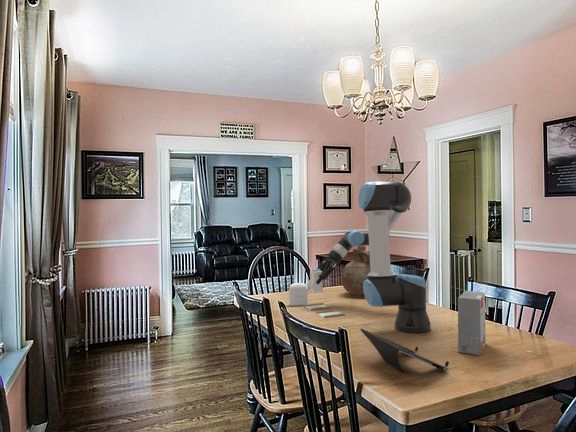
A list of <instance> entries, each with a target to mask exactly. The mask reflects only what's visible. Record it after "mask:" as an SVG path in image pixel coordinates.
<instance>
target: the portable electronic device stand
mask: <svg viewBox="0 0 576 432" xmlns="http://www.w3.org/2000/svg"><path fill="white" fill-rule="evenodd" d="M360 331H361V333H363V334H364V336H365V337H366V338H367V339H368V340H369V342H370V343H371V344H372V345H373V347H374V348H375V349H376V351H377V352H378V354H379V355H380V357H381V359H382V360H383V361H384V363H386V364H388V366H391V367H393V368H394V369H395V370H396V371H398V372H400V373H404V370H403V369H402V366H401V363H400V360H399V355H398V354H399V353H401V354H405V355H406V356H409V357H411V358H414V359H415V360H418V361H422V362H424V363H425V364H427V365H431V366H432V367H434V368H436V369H437V370H438V371H441V372H444V371H445V370H448V367H449V364H450V362H449V361H448V360H446V361H445V364H444V366H443V365H441V364H439V363H437V362H435V361H433V360H430V359H428V358H426V357H423V356H421V355H419V354H417V353H418V350H419V346H415V349H414V350H412V349H410V348H408V347H405V346H403V345H401V344H398V343H396V342H394V341H392V340H389V339H387V338H384V337H382V336H380V335H377V334H375V333H373V332H370V331H368V330H366V329H363V328H360Z"/></svg>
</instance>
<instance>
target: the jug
mask: <svg viewBox="0 0 576 432" xmlns="http://www.w3.org/2000/svg"><path fill="white" fill-rule="evenodd" d="M352 253H353V259H352V260H351V261H350V262H348V263H346V265H344V268H343V270H342V272H341V275H340V276H341V277H340V282H341V284H342V286H343V289H344V290H345V291H346V292H347V293H349V294H350V295H351V296H352V297H358V298H360V297H365V295H364V291H363V282H364V280H366V279H367V275H368V274H369V272H370V271H371V270H370V252H369V250H366V245H364V246H357V248H354V249H353V248H352ZM363 255H366V260H365V259H364V258H363Z"/></svg>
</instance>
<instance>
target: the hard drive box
mask: <svg viewBox="0 0 576 432" xmlns="http://www.w3.org/2000/svg"><path fill="white" fill-rule="evenodd" d="M485 346H486V292H482V291H473V290H472V291H470V290H469V291H468V290H464V291H463V293H462V294H460V295H459V296H458V297H457V352H458V353H462V354H469V355H474V356H481V355H482V353H483V350H484V348H485Z"/></svg>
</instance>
